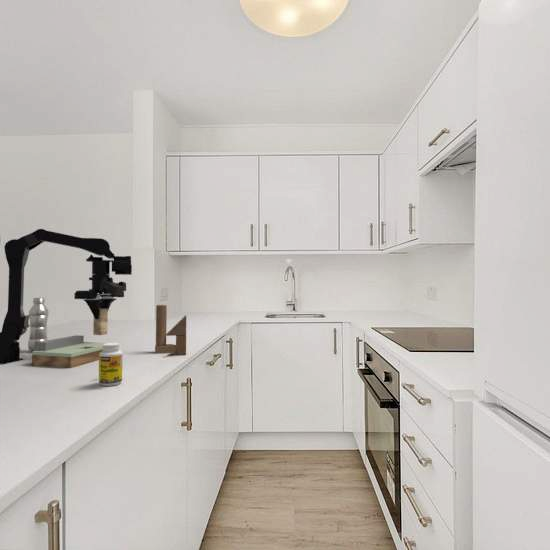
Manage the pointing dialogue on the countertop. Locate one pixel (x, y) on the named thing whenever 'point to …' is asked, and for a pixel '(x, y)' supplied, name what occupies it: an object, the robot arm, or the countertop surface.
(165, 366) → the countertop surface
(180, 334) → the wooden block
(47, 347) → the lid
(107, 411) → the countertop surface
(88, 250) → the robot arm
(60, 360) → the brown wooden slab
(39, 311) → the plastic bottle
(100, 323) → the pin
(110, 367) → the supplement bottle
